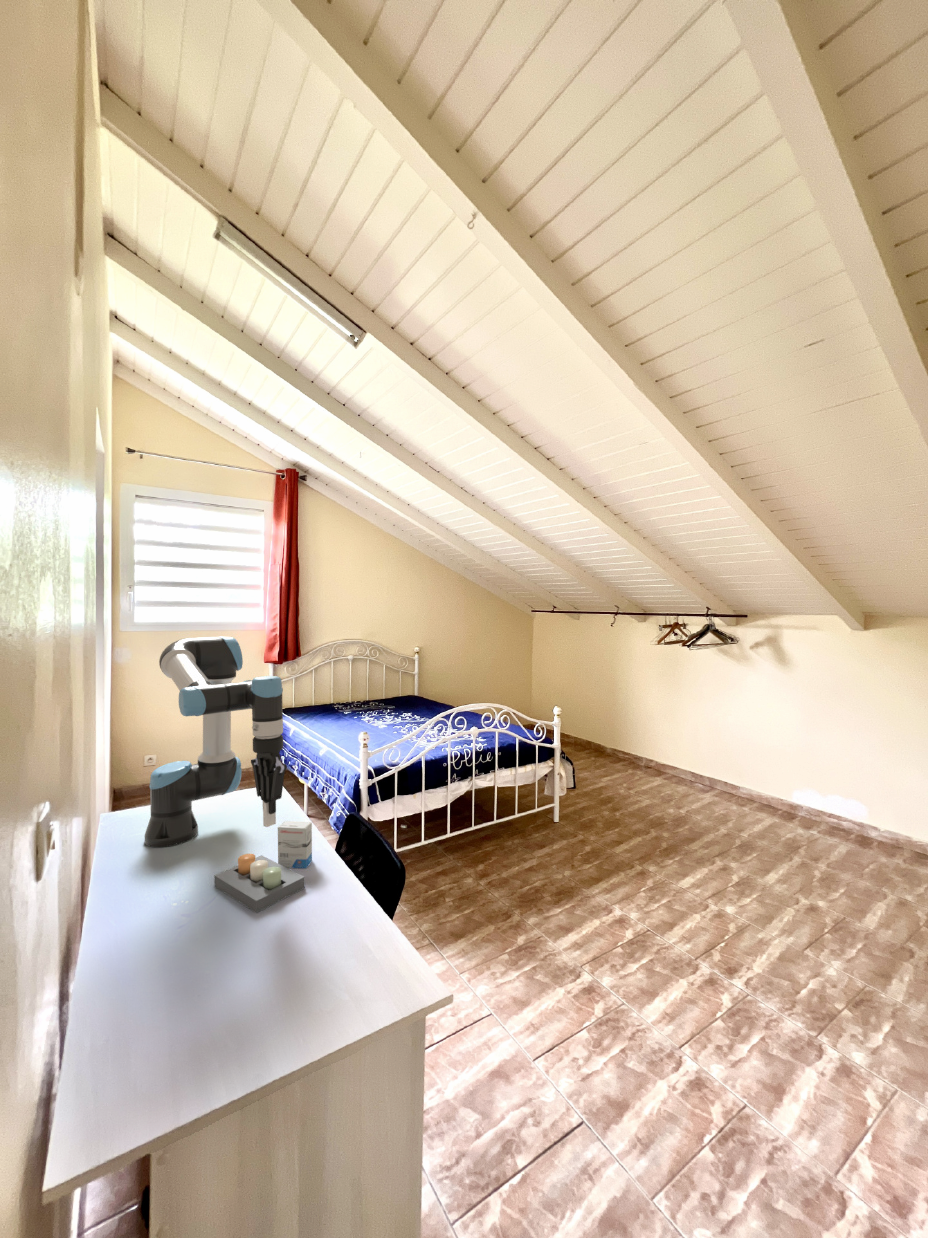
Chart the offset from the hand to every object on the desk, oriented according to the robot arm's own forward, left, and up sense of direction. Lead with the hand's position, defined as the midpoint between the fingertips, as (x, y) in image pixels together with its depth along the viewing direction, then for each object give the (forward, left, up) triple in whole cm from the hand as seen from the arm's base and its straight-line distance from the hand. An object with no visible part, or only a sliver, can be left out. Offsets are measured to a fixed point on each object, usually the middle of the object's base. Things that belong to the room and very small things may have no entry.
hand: (269, 824), depth 138 cm
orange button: (-10, -1, -15) cm, 18 cm away
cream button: (-4, -1, -15) cm, 16 cm away
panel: (-4, -1, -18) cm, 18 cm away
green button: (+2, -1, -15) cm, 15 cm away
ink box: (-7, +13, -18) cm, 23 cm away
